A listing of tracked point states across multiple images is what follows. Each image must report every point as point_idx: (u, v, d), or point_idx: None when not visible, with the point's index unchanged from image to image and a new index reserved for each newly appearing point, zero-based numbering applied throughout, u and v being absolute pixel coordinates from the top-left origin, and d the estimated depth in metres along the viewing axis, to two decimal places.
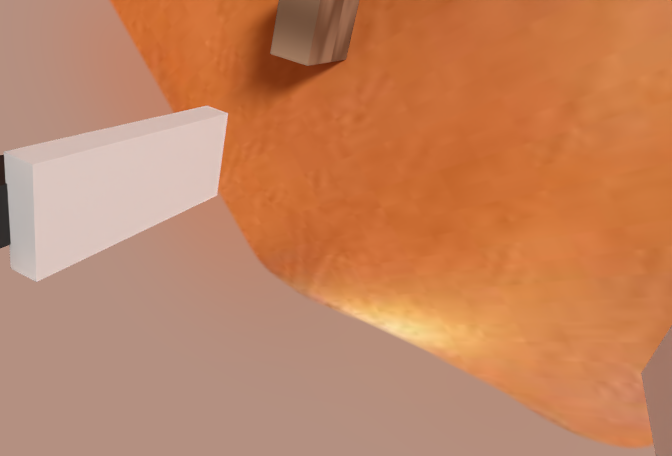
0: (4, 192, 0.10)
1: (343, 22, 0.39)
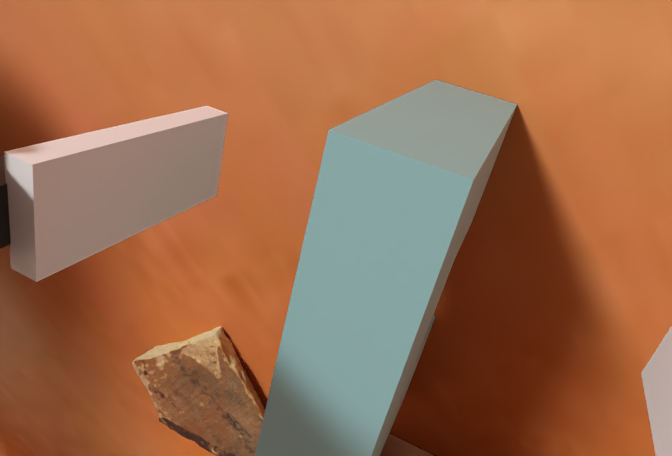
0: (4, 192, 0.10)
1: None
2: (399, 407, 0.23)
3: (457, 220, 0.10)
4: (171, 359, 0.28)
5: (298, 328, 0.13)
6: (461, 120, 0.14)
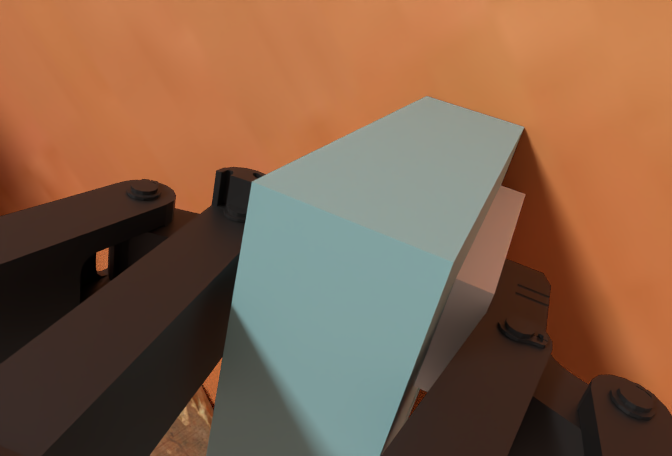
0: None
1: None
2: None
3: (431, 316, 0.07)
4: None
5: (228, 433, 0.10)
6: (450, 155, 0.11)
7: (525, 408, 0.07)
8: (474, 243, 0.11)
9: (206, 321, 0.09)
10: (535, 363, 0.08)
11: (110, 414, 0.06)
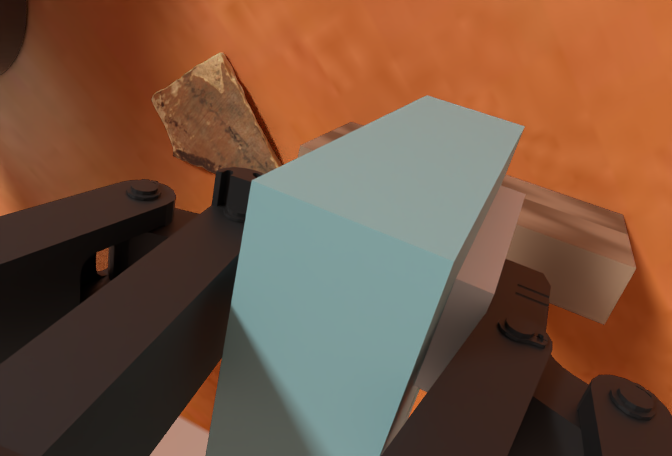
0: None
1: (568, 208, 0.27)
2: None
3: (431, 315, 0.07)
4: (183, 83, 0.35)
5: (227, 433, 0.10)
6: (450, 154, 0.11)
7: (525, 408, 0.07)
8: (474, 243, 0.11)
9: (206, 321, 0.09)
10: (535, 363, 0.08)
11: (110, 414, 0.06)
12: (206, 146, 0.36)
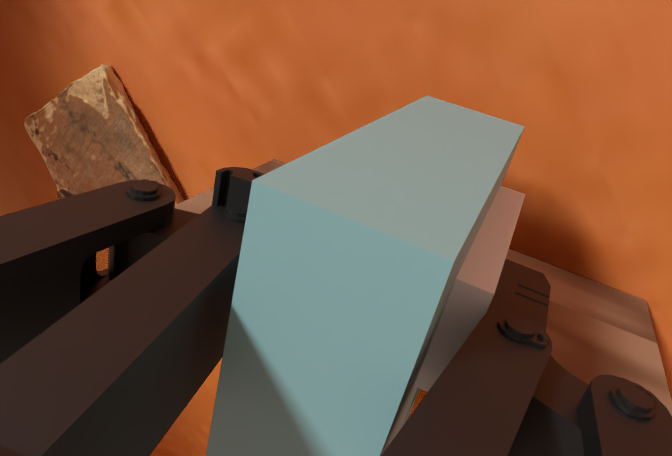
0: None
1: (567, 296, 0.18)
2: None
3: (431, 315, 0.07)
4: (59, 105, 0.26)
5: (227, 433, 0.10)
6: (450, 154, 0.11)
7: (525, 408, 0.07)
8: (474, 243, 0.11)
9: (206, 321, 0.09)
10: (535, 363, 0.08)
11: (110, 414, 0.06)
12: (94, 186, 0.27)
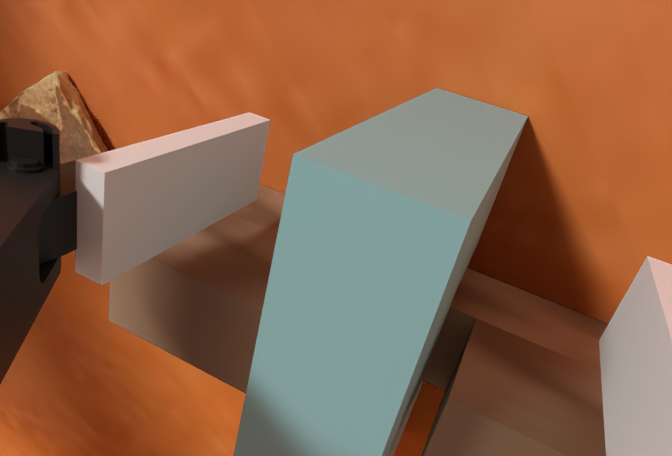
0: (74, 199, 0.11)
1: (571, 343, 0.16)
2: (395, 448, 0.20)
3: (451, 269, 0.08)
4: (10, 115, 0.24)
5: (264, 386, 0.11)
6: (461, 137, 0.12)
7: None
8: None
9: (17, 270, 0.09)
10: None
11: None
12: None
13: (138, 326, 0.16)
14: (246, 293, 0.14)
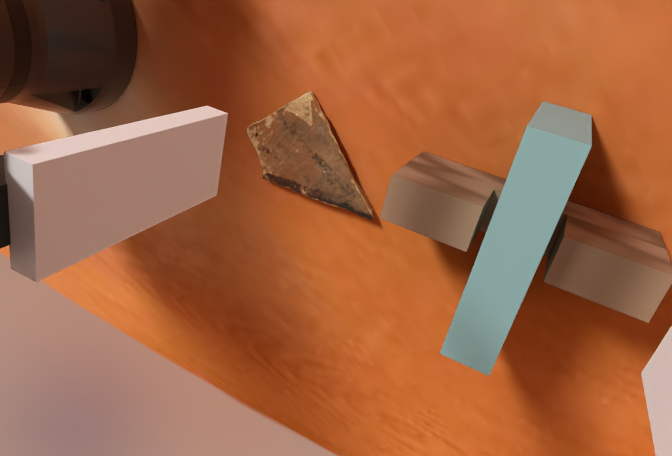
0: (4, 192, 0.10)
1: (614, 227, 0.32)
2: None
3: (583, 163, 0.25)
4: (277, 117, 0.41)
5: (499, 219, 0.27)
6: (571, 123, 0.29)
7: None
8: None
9: None
10: None
11: None
12: (294, 170, 0.42)
13: (398, 219, 0.33)
14: (462, 197, 0.31)
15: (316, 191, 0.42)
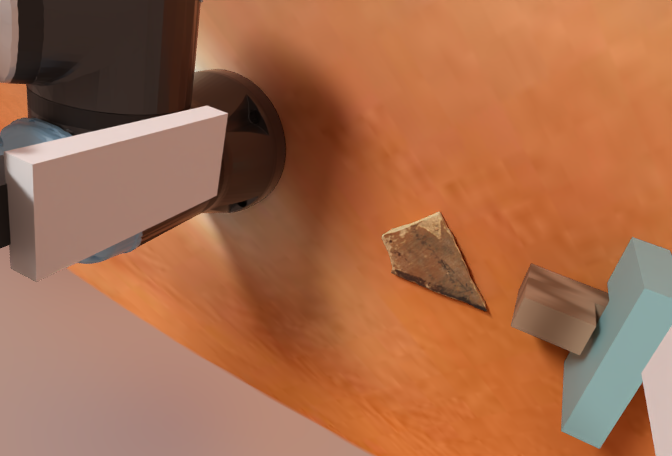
0: (4, 192, 0.10)
1: None
2: None
3: None
4: (410, 230, 0.51)
5: (617, 345, 0.38)
6: (664, 271, 0.40)
7: None
8: None
9: None
10: None
11: None
12: (421, 270, 0.52)
13: (526, 328, 0.44)
14: (579, 317, 0.42)
15: (438, 287, 0.52)
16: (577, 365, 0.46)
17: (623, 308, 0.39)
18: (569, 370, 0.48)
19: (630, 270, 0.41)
